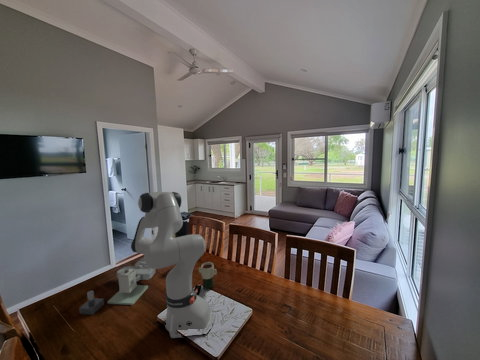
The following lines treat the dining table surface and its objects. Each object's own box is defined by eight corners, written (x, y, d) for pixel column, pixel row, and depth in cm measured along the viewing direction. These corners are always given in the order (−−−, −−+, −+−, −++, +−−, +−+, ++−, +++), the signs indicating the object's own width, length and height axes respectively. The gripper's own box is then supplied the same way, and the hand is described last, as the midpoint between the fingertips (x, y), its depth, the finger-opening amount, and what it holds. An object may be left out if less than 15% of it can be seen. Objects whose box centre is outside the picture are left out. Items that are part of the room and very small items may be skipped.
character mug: (219, 284, 117) (218, 263, 115) (215, 292, 110) (214, 269, 108) (202, 281, 119) (201, 261, 118) (196, 289, 112) (195, 267, 111)
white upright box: (136, 285, 112) (134, 267, 110) (129, 292, 106) (128, 273, 105) (127, 285, 112) (125, 267, 111) (119, 292, 107) (117, 273, 105)
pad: (148, 287, 116) (148, 285, 115) (132, 305, 102) (132, 303, 102) (125, 286, 117) (125, 284, 117) (107, 303, 103) (107, 301, 103)
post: (104, 304, 103) (102, 287, 102) (92, 314, 96) (90, 297, 95) (91, 303, 104) (89, 287, 103) (79, 313, 97) (77, 296, 96)
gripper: (125, 261, 122) (108, 275, 109) (157, 263, 120) (143, 277, 106) (126, 271, 123) (109, 286, 109) (157, 272, 121) (144, 287, 107)
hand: (126, 281), depth 108 cm, fingers closed on white upright box, 6 cm apart
